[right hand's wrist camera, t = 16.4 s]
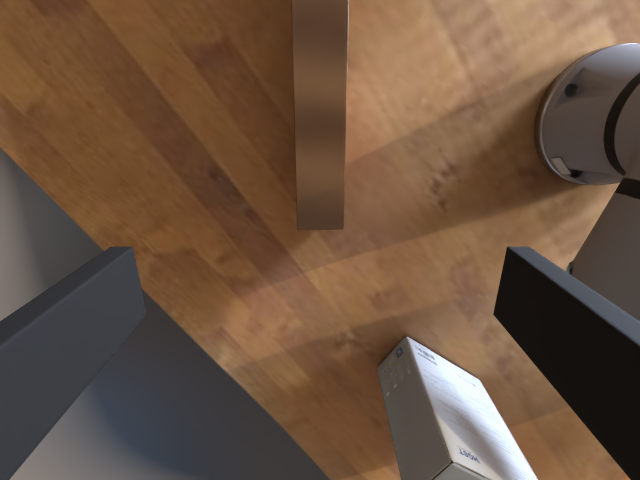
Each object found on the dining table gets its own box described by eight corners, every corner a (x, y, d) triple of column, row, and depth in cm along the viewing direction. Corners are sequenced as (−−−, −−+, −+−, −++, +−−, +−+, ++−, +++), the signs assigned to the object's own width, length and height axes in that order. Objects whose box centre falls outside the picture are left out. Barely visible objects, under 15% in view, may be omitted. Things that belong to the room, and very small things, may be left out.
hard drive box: (374, 368, 55) (402, 503, 36) (405, 333, 52) (452, 459, 34) (450, 410, 58) (512, 555, 39) (482, 379, 55) (564, 518, 37)
